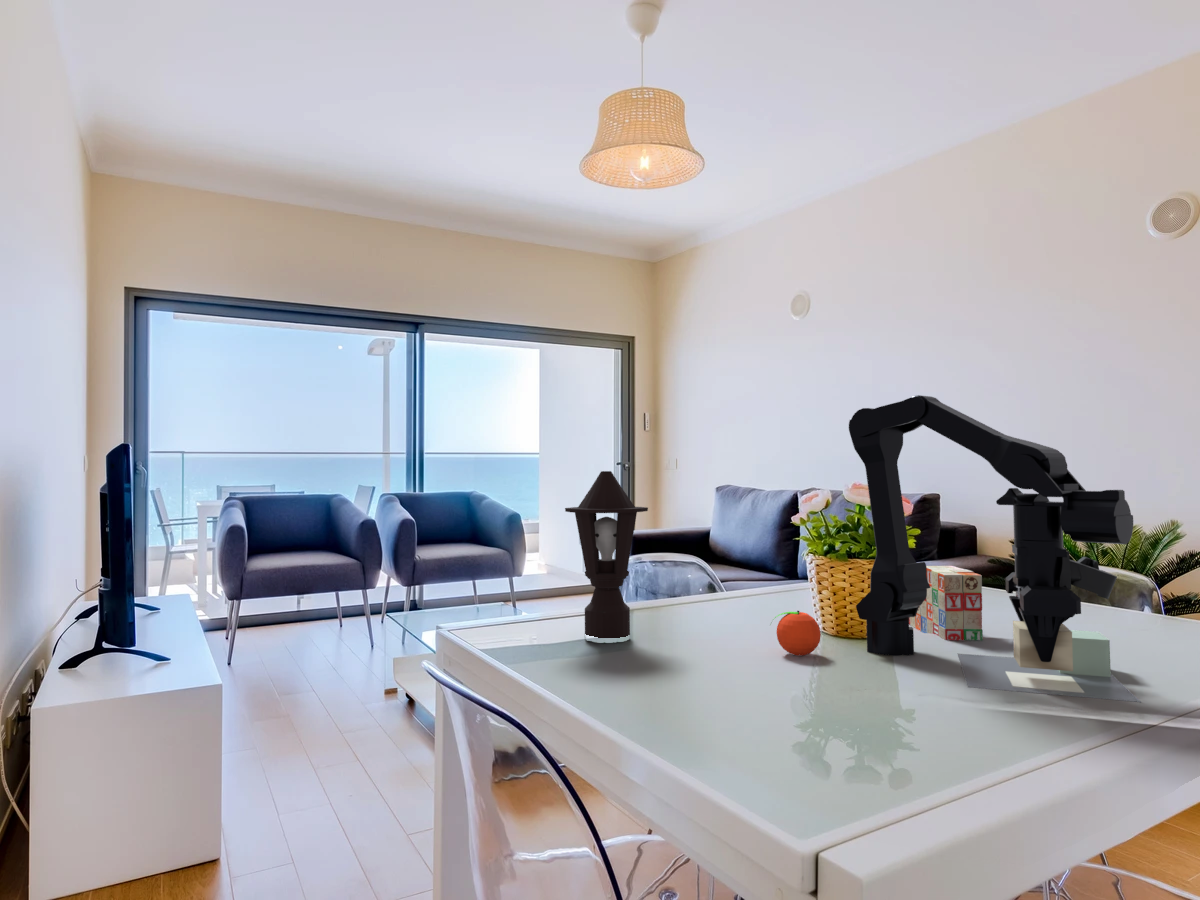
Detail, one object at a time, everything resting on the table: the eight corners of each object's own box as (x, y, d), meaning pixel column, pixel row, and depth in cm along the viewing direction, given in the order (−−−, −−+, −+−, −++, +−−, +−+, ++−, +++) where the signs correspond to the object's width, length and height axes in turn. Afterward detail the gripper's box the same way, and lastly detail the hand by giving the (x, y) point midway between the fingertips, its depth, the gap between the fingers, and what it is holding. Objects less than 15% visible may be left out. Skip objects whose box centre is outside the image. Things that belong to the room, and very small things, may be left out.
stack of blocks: (904, 622, 148) (902, 559, 148) (936, 622, 147) (935, 559, 148) (945, 647, 126) (943, 573, 127) (984, 647, 126) (982, 573, 126)
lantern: (563, 631, 141) (562, 471, 142) (641, 629, 143) (639, 471, 144) (569, 649, 126) (567, 471, 127) (655, 646, 128) (653, 470, 129)
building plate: (967, 694, 98) (967, 686, 98) (957, 659, 117) (957, 652, 117) (1141, 710, 91) (1141, 701, 91) (1101, 670, 110) (1100, 663, 110)
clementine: (767, 658, 119) (767, 613, 119) (772, 648, 126) (771, 605, 126) (820, 661, 117) (819, 615, 117) (822, 651, 123) (821, 608, 123)
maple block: (1020, 667, 99) (1019, 629, 99) (1013, 656, 104) (1012, 620, 105) (1073, 671, 97) (1071, 632, 97) (1063, 660, 102) (1062, 623, 102)
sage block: (1060, 673, 105) (1058, 637, 105) (1052, 663, 110) (1051, 628, 111) (1110, 677, 103) (1109, 640, 103) (1100, 666, 108) (1098, 631, 108)
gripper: (1128, 547, 89) (1133, 679, 89) (1092, 535, 107) (1095, 646, 106) (1022, 544, 94) (1026, 671, 93) (1003, 534, 111) (1006, 640, 110)
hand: (1041, 656), depth 101 cm, fingers closed on maple block, 6 cm apart
